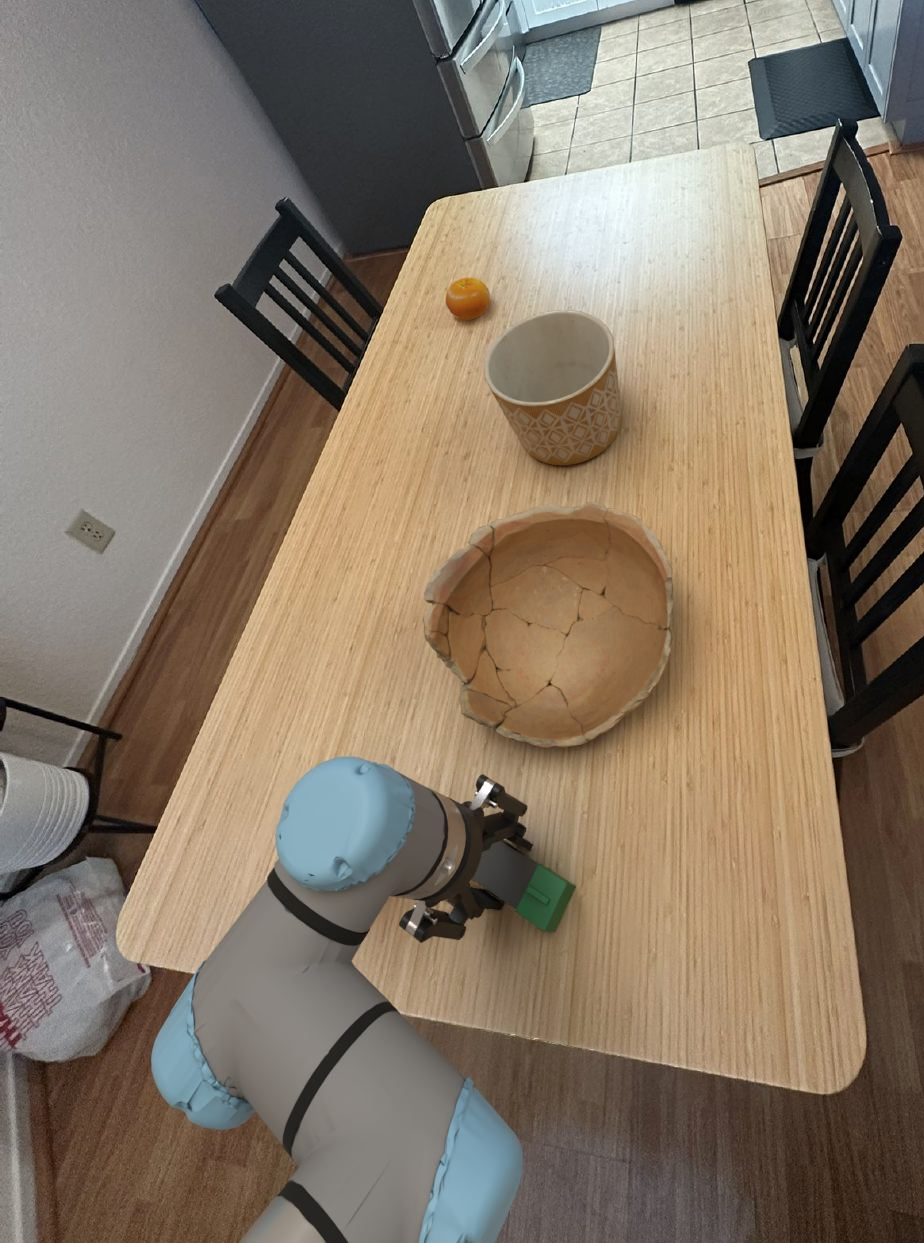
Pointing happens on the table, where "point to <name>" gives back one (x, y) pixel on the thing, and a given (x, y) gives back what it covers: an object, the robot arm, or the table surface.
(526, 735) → the ceramic bowl
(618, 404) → the planter
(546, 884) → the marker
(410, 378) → the table surface
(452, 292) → the fruit
